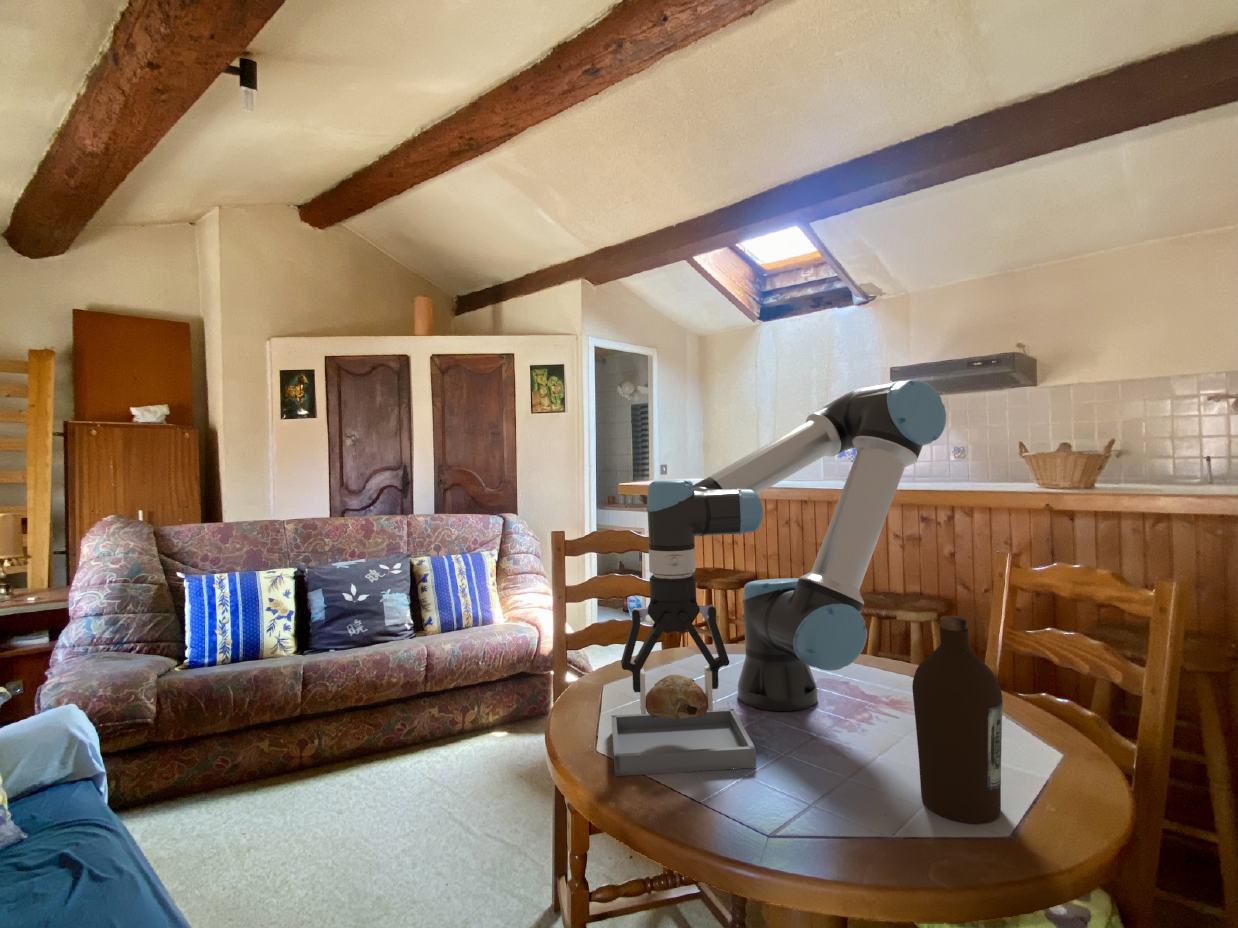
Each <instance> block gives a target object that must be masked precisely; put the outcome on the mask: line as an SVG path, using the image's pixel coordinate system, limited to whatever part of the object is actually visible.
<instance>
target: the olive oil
mask: <svg viewBox="0 0 1238 928" xmlns="http://www.w3.org/2000/svg"><path fill="white" fill-rule="evenodd" d="M939 620H940V626H939V638H940V643H939V646H938V647H937V648H936V649H934V650H933V652H931V653H930V654H929V655H928V656H926V658H925V659H923V661H921V662H920V664H919V665H918V666H917V668H916V669H915V672H914V675H913V679H912V685H911V686H912V688H911V689H912V698H913V699H912V700H913V707H914V709H913V710H914V719H915V727H916V729H915V732H916V742H917V753H918V767H919V779H920V780H919V781H920V783H919V784H920V795H921V800H922V802H923V804H924V805H925V806H926V807H927V808H928V809H929V810H930V811H932V812H933V813H936V814H937V815H939V816H941V817H943V818H946V819H949V820H952V821H956V822H960V823H966V824H984V823H985V824H986V823H990V822H994V821H995V820H997V819H998V818H999V817H1000V815H1001V809H1002V804H1001V803H1002V802H1001V801H1002V800H1001V799H1002V798H1001V797H1002V792H1001V791H1002V790H1001V789H1002V788H1001V786H1002V738H1003V737H1002V736H1003V735H1002V734H1003V733H1002V730H1003V728H1002V727H1003V702H1004V701H1003V692H1002V689H1001V686H1000V683H999V679H998V678H997V677H996V675H995V673H994V672H993V671H992V669H991V668H990V667H989V666H987V664H986V663H985V662H984V661H983V660H982V659H981V658H980V657H979V656H978V655H977V654H976V653H975V652H974V651H973V650H972V649H971V648H970V646H969V628H967V625H968V619H967V618H966V617H963V616H960V615H942V616H940V617H939Z"/></svg>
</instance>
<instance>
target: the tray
mask: <svg viewBox="0 0 1238 928" xmlns="http://www.w3.org/2000/svg"><path fill="white" fill-rule="evenodd" d="M611 733H612V736H611V737H612V748H613V750H612V752H613V765H614V777H624V776H625V777H626V776H640V775H641V776H642V775H654V774H653V773H662V774H676V773H678V772H679V773H693V772H692V771H696V772H704V771H703V770H713V771H725V769H730V770H738V769H737V768H747V769H755V768H754V767H756V768H757V752H756V751H757V749H756V747H755V745H754V743H753V741H752V739H751V737H750V736H749V734H748V732H747V730H746V728H745V727H744V725H743V723H742V721H741V720H740V718H739V716H738V715H737V712H736V710H735V708H725V709H713V711H710V712H708V710H707V712H706V714H705V716H702V717H692V718H686V719H683V720H681V719H664V718H659V717H651V716H650V715H649V713H646V714H641V713H635V714H633V713H632V714H617V715H616V714H615V715H613V714H612V715H611ZM733 768H734V769H733ZM735 768H736V769H735ZM700 770H702V771H700ZM673 772H674V773H673Z"/></svg>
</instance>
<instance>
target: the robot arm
mask: <svg viewBox="0 0 1238 928" xmlns="http://www.w3.org/2000/svg"><path fill="white" fill-rule="evenodd" d="M946 422H947V410H946V407H945V405H944V403H943V401H942V397H941V395H940V393H939V392H938V390H937V389H935V388H934V387H933V386H932V385H931V384H929V383H928V382H926V381H923V380H919V379H908V380H905V379H899V380H896V381H894V382H889V383H884V384H883V383H882V384H878V385H873V386H872V385H871V386H864V387H860V388H856V389H854V390H851V391H849V392H847V393H845V394H843V395H842V396H840V397H838V398H836V399H835V400H833V401H831V402H830V403H828V404H826V405H824V406H822V407H821V408H819V409H817V410H815V411H814V412H813V413H811V414H809V415H808V416H807V417H806V419H805V422H804V423H802V424H801V425H799V426H798V427H796V428H794V429H792V430H790V431H788V432H787V433H785V434H784V435H781V436H780V437H778V438H776V439H774V440H773V441H770V442H769V443H767V444H764V446H762V447H760V448H757V449H756V450H754V451H753V452H751V453H749V454H747V455H745V456H743V457H741V458H740V459H738V460H737V461H734V462H733V463H731V464H729V465H727V466H726V467H724V468H722V469H721V470H718V471H717V472H715V473H713V474H712V475H710V476H708V477H705V478H704V479H702V480H700V481H699V482H696V483H695V484H694V483H693V481H691V480H689V479H675V480H674V479H665V480H654V481H652V482H651V483H650V484H649V485H648V488H647V503H646V512H647V523H648V524H647V525H648V526H647V527H648V528H647V529H648V569H649V572H650V573H651V575H650V577H649V604H648V606H647V607H640V608H639V607H637V606H633V607H631V611H630V612H631V625H630V628H629V632H628V635H627V638H626V642H625V646H624V650H623V654H622V657H621V661H620V663H621V668H622V670H624V671H629V672H631V674H632V690H633V692H634V693H639V710H640V714H647V710H646V673H645V669H644V668H643V667H644V665H645V663H646V661H647V659H648V658H649V656H650V654H651V652H652V651H653V649H654V646H655V644H657V642H658V639H660V637H661V636H662V633H665V634H670V633H674V632H676V633H684V632H686V631H687V632H688V634H689V636H690V637H691V638H692V640H693V641H694V643H695V645H696V646H697V648H698V649H699V651H700V653H701V654H702V656H703V657H704V658H705V661H706V662H707V664H708V665H706V666H705V665H704V668H703V671H704V693H705V695H706V698H707V701H708V709H707V710H708V712H710V711H713V710H714V706H713V703H714V702H713V690H718V689H719V671H720V669H721V667H727V666H729V665H730V660H729V659H730V658H729V657H728V653H727V650H726V647H725V644H724V641H723V638H722V636H721V633H720V629H719V627H718V623H717V609H716V608H715V606H714V605H713V604H712V603H707V605H699V604H698V602H697V585H696V584H697V583H696V581H697V580H696V578H697V577H696V576H695V575H694V573H695V572H696V558H695V556H696V554H695V547H696V545H695V544H696V543H695V542H696V541H695V540H696V539H695V538H696V537H704V536H721V535H722V536H723V535H739V536H741V535H742V534H748V533H754V532H756V531H757V530H758V529H759V528H760V526H761V524H762V522H763V517H764V513H763V511H764V510H763V504H762V503H763V502H762V500H761V497H760V495H759V494H760V493H762V492H764V491H766V490H768V489H769V488H771V487H773V486H775V485H776V484H778V483H780V482H782V481H783V480H785V479H787V478H789V477H790V476H792V475H794V474H795V473H797V472H799V471H801V470H803V469H804V468H806V467H808V466H809V465H811V464H813V463H815V462H816V461H819V460H820V459H822V458H824V457H828V458H829V457H831V458H833V457H835V456H837V455H839V454H840V453H842V452H844V451H847V450H850V449H855V450H856V455H855V457H854V460H853V462H852V465H851V467H850V470H849V473H848V475H847V477H846V481H845V483H844V485H843V488H842V490H841V493H840V496H839V498H838V501H837V504H836V506H835V509H834V511H833V513H832V517H831V519H830V522H829V524H828V527H827V529H826V532H825V535H824V537H823V540H822V543H821V545H820V547H819V550H818V553H817V555H816V558H815V561H814V563H813V566H812V569H811V570H810V571H809V572H808V573H806V574H804V575H801V576H800V577H798V578H796V577H795V578H793V577H792V578H791V577H790V578H789V577H787V578H786V577H785V578H783V577H782V578H771V579H770V578H767V579H759V580H757V579H756V580H753V581H752V580H751V581H749V582H746V583H745V584H744V587H743V597H742V604H743V624H744V641H745V642H744V644H745V645H744V647H745V649H744V650H745V659H744V661H743V665H742V669H741V672H740V676H739V679H738V681H737V694H738V695H737V696H738V698H739V700H740V701H741V702H742V703H744V704H746V705H747V706H751V707H753V708H756V709H760V710H765V711H771V712H772V711H775V712H793V711H800V710H804V709H807V708H810V707H812V706H814V705H815V704H816V703H817V702H818V687H817V683H816V681H815V678H814V676H813V673H812V671H811V667H813V668H817V669H819V670H821V671H829V672H830V671H838V670H842V669H843V668H845V667H849V666H850V665H851V664H852V663H854V662H855V661H856V660H857V659H858V658H859V657H860V655H862V652H863V650H864V648H865V646H866V644H867V643H866V642H867V640H868V639H867V638H868V628H867V627H866V621H865V619H864V616H863V615H862V614H861V613H862V611H863V608H864V605H865V602H864V599H863V597H862V595H861V592H860V588H861V587H862V584H863V581H864V578H865V576H866V573H867V570H868V567H869V565H870V563H871V559H872V558H873V557H872V556H873V554H874V551H875V548H876V546H877V543H878V540H879V538H880V535H881V532H882V530H883V527H884V524H885V521H886V519H887V516H888V513H889V511H890V509H891V506H892V502H893V500H894V497H895V495H896V492H897V489H898V487H899V484H900V481H901V479H902V476H903V473H904V471H905V468H907V467H909V466H911V465H914V464H916V463H917V462H918V460H919V456H920V454H921V450H922V448H923V446H926V445H929V444H931V443H933V442H934V441H936V440H938V439H939V438H940V437H941V435H942V434H943V433H944V430H945V427H946ZM699 614H701V616H702V618H703V619H705V620H706V624H707V626H708V629H709V633H710V636H711V638H712V641H713V643H714V647H715V650H716V653H717V657H714V656H713V654H712V653H711V651H710V650H709V648H708V647H707V645H706V643H705V642H704V640H703V639H702V637H701V635H700V633H699V632H698V631H697V629H696V628H695V626H694V624H693V623H694V622H695V620H696V618H697V617H698V615H699ZM646 616H649V617H650V618H651V620H652V622H653V624H652V626H651V627H650V631H649V633H648V635H647V637H646V638H645V640H644V642H643V644H642V645H641V647H640V650H638V653H637V655H636V656H635V659H634V660H632V659H633V658H632V657H633V654H634V650H635V647H636V645H637V644H636V642H637V639H638V635H639V632H640V628H641V623H643V622H644V621H645V618H646Z"/></svg>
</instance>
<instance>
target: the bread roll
mask: <svg viewBox="0 0 1238 928" xmlns="http://www.w3.org/2000/svg"><path fill="white" fill-rule="evenodd" d="M645 696H646V713H647V714H649V715H650V716H651V717H659V718H664V719H681V720H683V719H686V718H692V717H702V716H705V714H706V712H707V709H708V701H707V698H706V695H705V691H704V689H703V688H702V687H701V686H700V685H699V684H697V683H696V681H695V680H694V678H692V677H686V676H684V675H681V674H670V675H668V676H667V675H666V676H665V677H663V678H662V679H659V680H658V681H656V683H654V686H653V687H651V688H650V689H649V690H648V692H647V693H646V694H645Z"/></svg>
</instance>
